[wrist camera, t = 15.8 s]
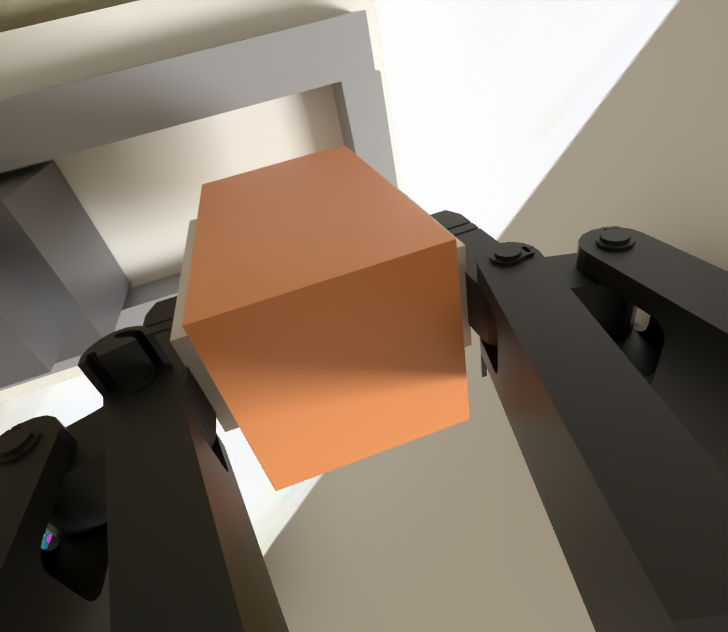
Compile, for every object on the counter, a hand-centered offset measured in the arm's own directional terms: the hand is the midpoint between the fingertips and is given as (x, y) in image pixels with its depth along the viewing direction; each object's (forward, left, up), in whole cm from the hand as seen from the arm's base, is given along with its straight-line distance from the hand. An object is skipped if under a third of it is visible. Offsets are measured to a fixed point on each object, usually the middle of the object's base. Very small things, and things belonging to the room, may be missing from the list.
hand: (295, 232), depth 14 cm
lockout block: (0, 0, 0) cm, 0 cm away
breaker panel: (-6, 0, -8) cm, 10 cm away
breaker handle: (-10, 0, -6) cm, 12 cm away
